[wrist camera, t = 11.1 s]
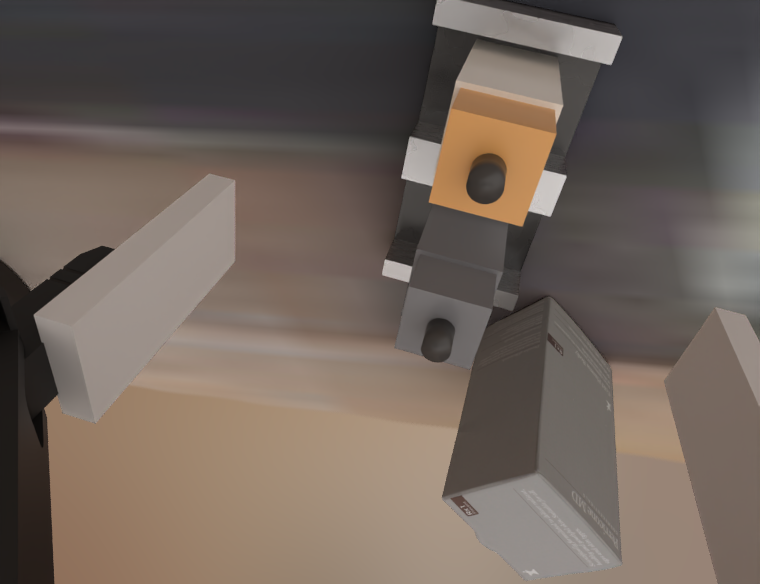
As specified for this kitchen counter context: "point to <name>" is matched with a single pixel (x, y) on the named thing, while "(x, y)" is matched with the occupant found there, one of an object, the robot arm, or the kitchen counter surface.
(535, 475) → the skincare box
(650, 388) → the kitchen counter surface
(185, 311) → the robot arm
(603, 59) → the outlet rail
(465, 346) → the twin plug
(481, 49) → the plug
